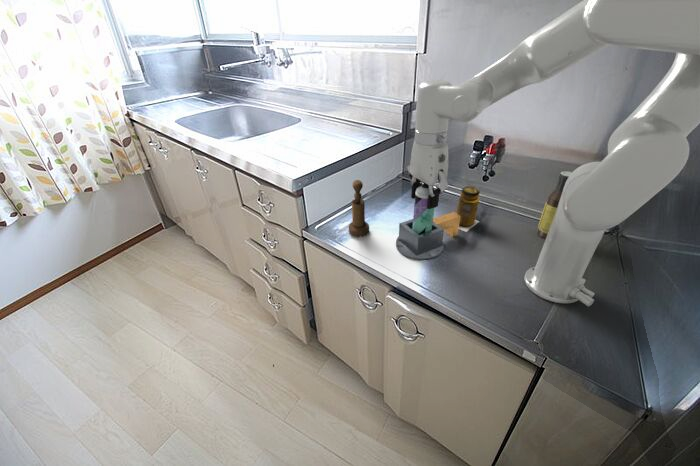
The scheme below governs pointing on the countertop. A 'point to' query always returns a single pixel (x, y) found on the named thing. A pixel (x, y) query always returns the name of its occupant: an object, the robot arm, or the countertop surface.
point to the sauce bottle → (552, 205)
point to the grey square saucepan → (426, 237)
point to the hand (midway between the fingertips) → (424, 201)
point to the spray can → (422, 211)
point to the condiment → (468, 208)
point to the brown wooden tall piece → (358, 213)
